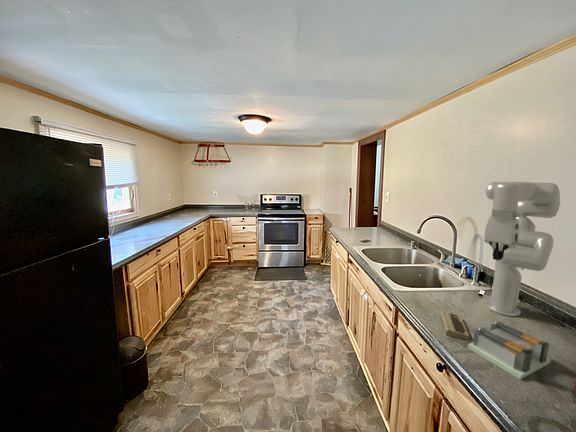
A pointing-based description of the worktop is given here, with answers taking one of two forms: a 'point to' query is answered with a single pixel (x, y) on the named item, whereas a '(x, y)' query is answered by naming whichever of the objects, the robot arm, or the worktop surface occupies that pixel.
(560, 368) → the worktop surface
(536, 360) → the board
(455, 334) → the computer
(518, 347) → the strip
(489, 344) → the grey rack unit
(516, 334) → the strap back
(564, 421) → the worktop surface
